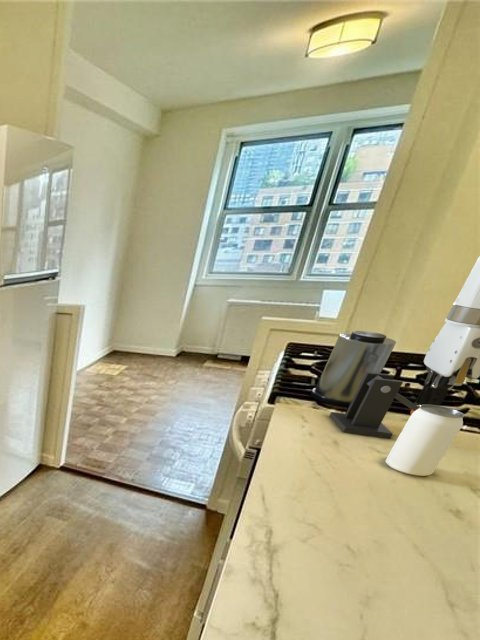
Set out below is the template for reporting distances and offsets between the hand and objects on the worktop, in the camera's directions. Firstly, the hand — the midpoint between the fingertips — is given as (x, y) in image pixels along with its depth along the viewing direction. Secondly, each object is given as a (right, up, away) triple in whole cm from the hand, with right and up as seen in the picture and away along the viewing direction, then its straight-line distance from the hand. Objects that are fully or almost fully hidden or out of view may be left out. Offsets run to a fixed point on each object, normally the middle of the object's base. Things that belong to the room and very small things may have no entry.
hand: (427, 404), depth 101 cm
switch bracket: (-8, -4, +6) cm, 11 cm away
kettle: (+1, +3, +20) cm, 21 cm away
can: (-14, -13, -9) cm, 22 cm away
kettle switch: (-5, 0, +2) cm, 5 cm away
